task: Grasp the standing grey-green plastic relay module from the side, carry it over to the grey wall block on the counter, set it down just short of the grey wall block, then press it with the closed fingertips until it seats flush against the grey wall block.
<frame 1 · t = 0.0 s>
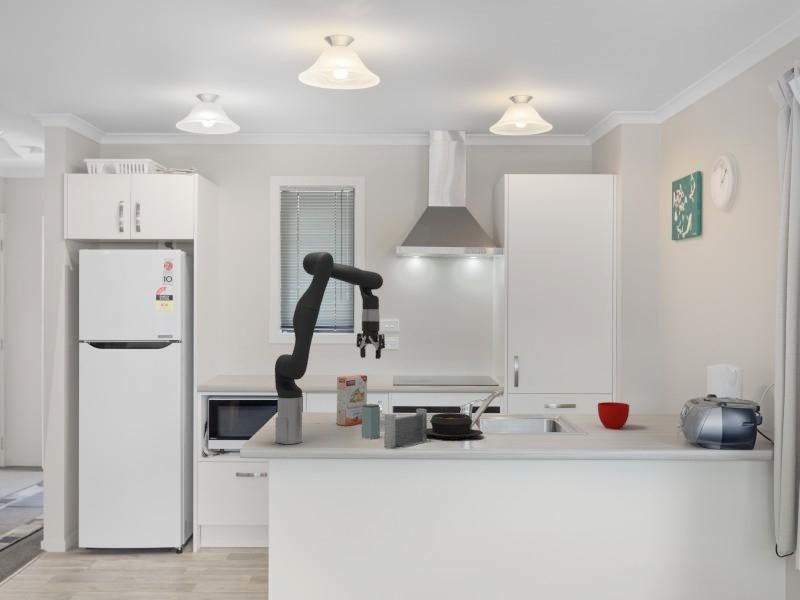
hand: (370, 358, 324), 29 cm above the countertop, tool pointing down, fingers open, 8 cm apart
cracker box: (352, 424, 332), on the countertop
module: (370, 437, 300), on the countertop
grey wall block: (405, 443, 287), on the countertop
casserole: (451, 437, 302), on the countertop
ceramic cup: (612, 427, 326), on the countertop
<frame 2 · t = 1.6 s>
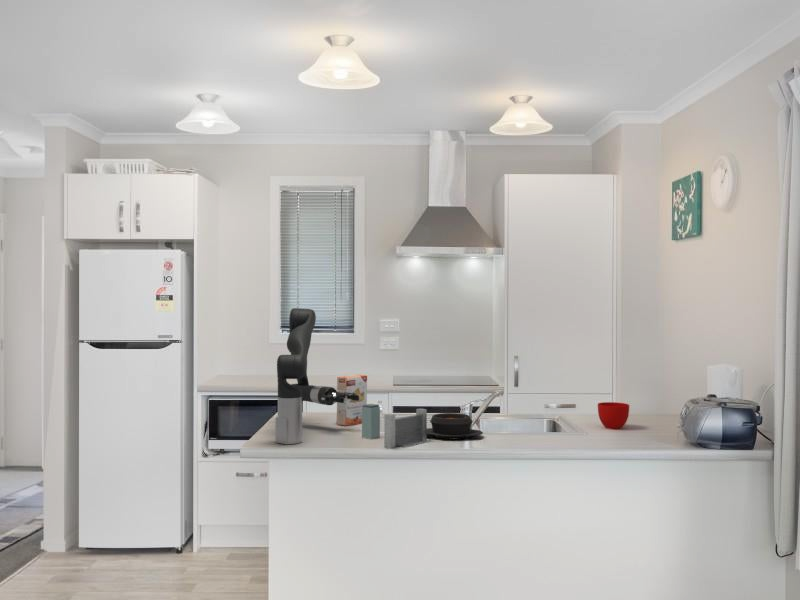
hand: (351, 399, 308), 14 cm above the countertop, tool horizontal, fingers open, 8 cm apart
nothing on the countertop moved.
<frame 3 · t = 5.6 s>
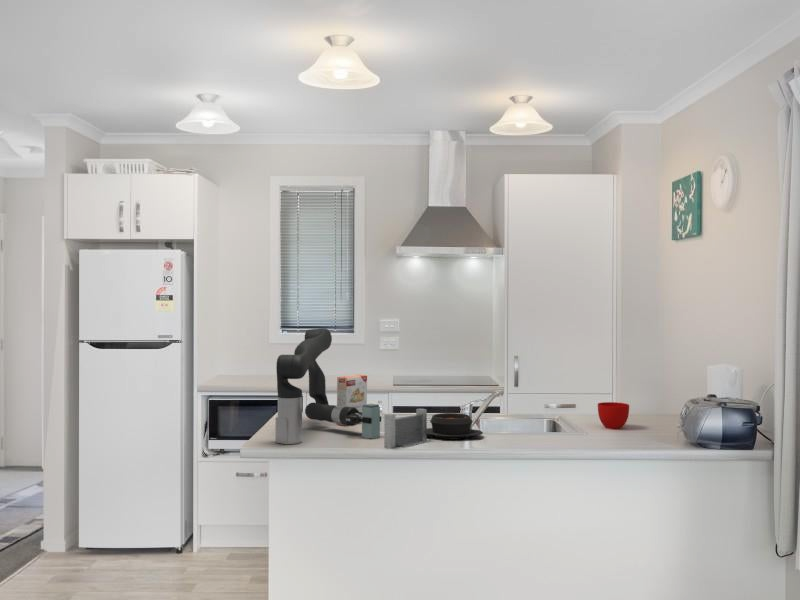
hand: (375, 420, 299), 7 cm above the countertop, tool horizontal, fingers closed on module, 5 cm apart
module: (370, 437, 300), on the countertop, touching gripper
everything else where it was.
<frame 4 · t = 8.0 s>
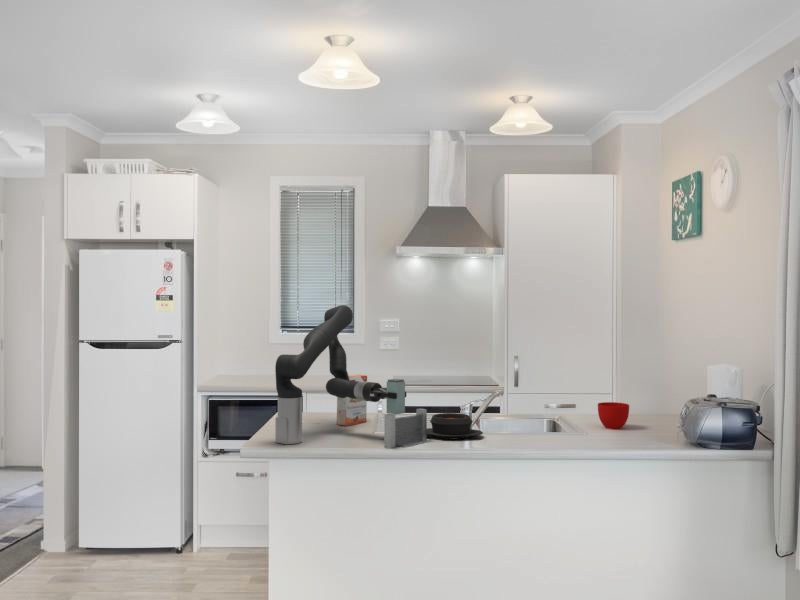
hand: (401, 395, 290), 18 cm above the countertop, tool horizontal, fingers closed on module, 5 cm apart
module: (395, 413, 291), point 11 cm above the countertop, touching gripper
everything else where it was.
when the fingers open (8 cm above the countertop, at t = 10.5 s): module stays where it is, on the countertop.
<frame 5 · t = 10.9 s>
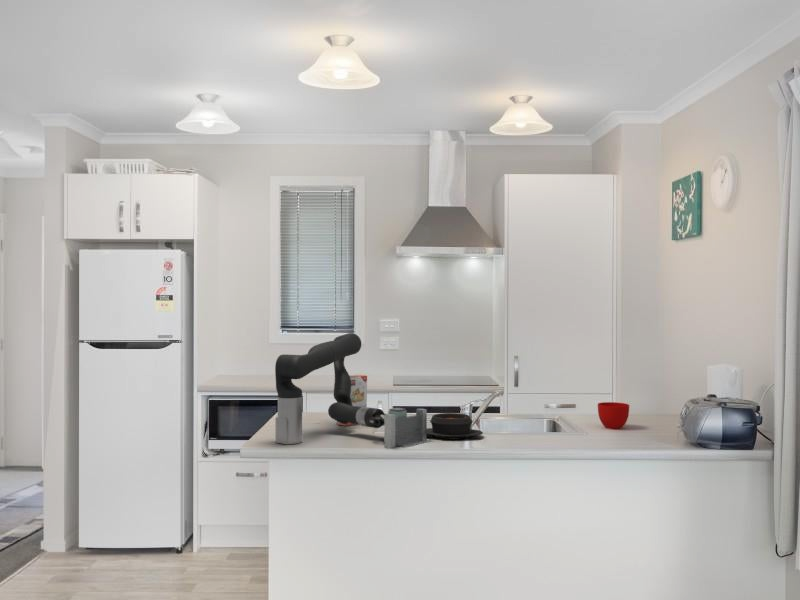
hand: (401, 421, 289), 8 cm above the countertop, tool horizontal, fingers open, 8 cm apart
module: (397, 442, 290), on the countertop
everything else where it was.
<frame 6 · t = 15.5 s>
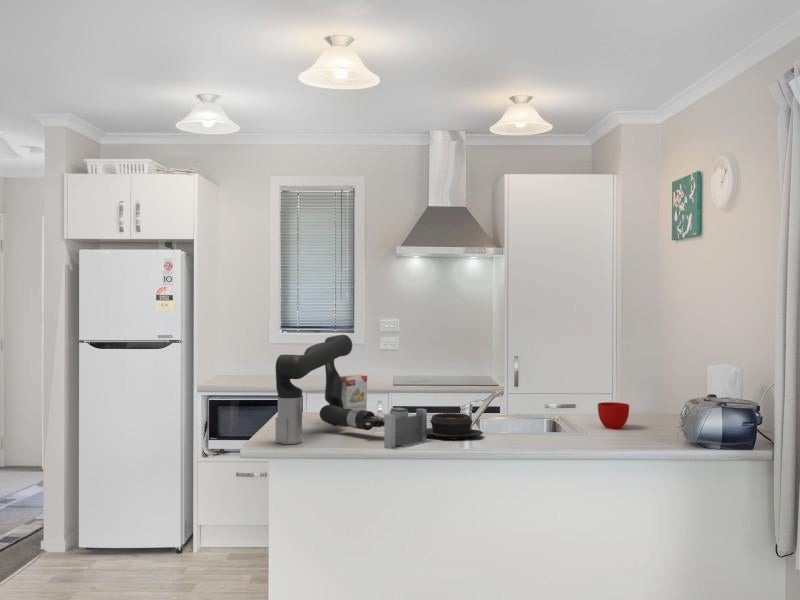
hand: (393, 424, 291), 7 cm above the countertop, tool horizontal, fingers closed
module: (397, 442, 290), on the countertop, touching gripper, grey wall block
everything else where it was.
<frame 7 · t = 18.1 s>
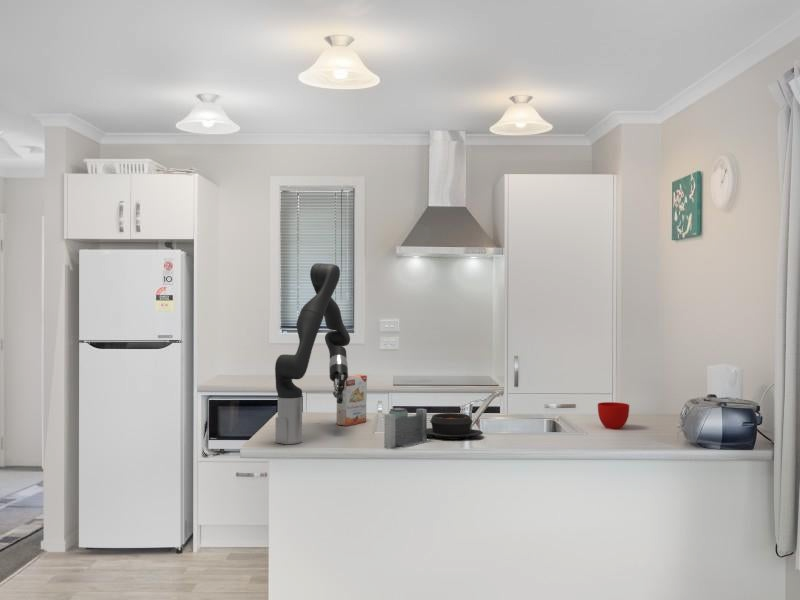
hand: (339, 402, 302), 14 cm above the countertop, tool tilted 45°, fingers closed
module: (398, 442, 290), on the countertop
everything else where it was.
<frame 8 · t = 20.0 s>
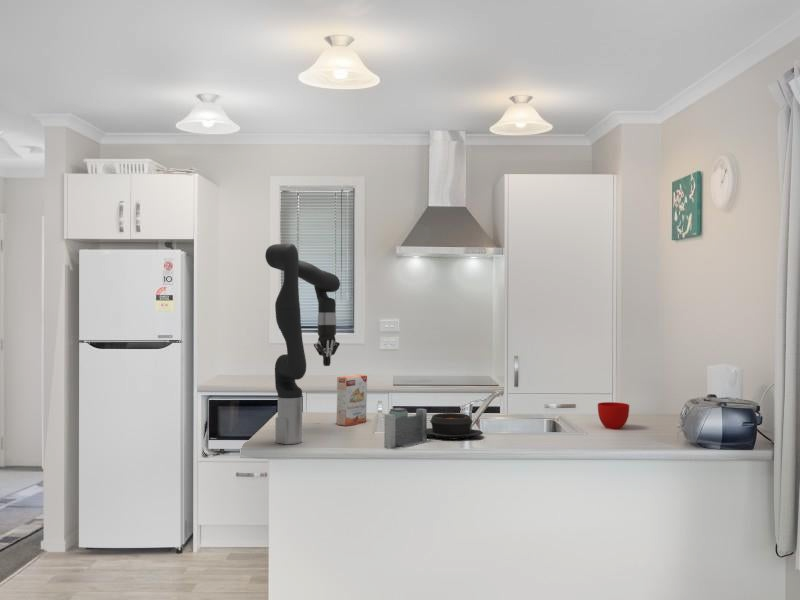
hand: (326, 365, 312), 27 cm above the countertop, tool pointing down, fingers closed
nothing on the countertop moved.
at the end: module inside the target area (0.5 cm from its centre), on the countertop; module tilted 0°; the gripper is holding nothing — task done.
